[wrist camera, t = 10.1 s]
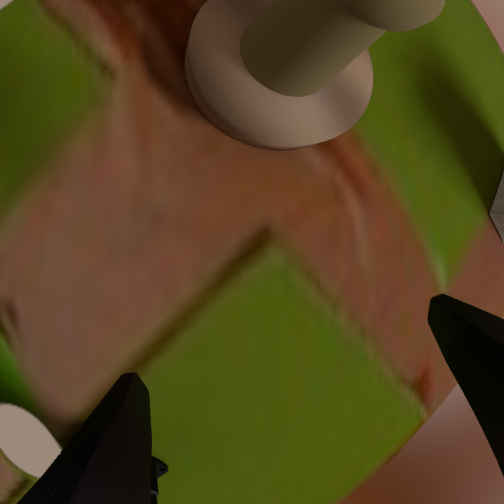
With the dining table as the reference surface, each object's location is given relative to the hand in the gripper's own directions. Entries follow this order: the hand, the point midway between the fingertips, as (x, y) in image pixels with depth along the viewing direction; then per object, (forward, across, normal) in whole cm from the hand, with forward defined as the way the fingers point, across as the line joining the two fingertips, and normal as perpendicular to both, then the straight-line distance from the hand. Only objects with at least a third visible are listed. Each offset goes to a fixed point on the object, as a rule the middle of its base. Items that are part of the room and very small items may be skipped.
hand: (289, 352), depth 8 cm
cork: (+13, -4, -9) cm, 16 cm away
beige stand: (+16, -4, -8) cm, 18 cm away
